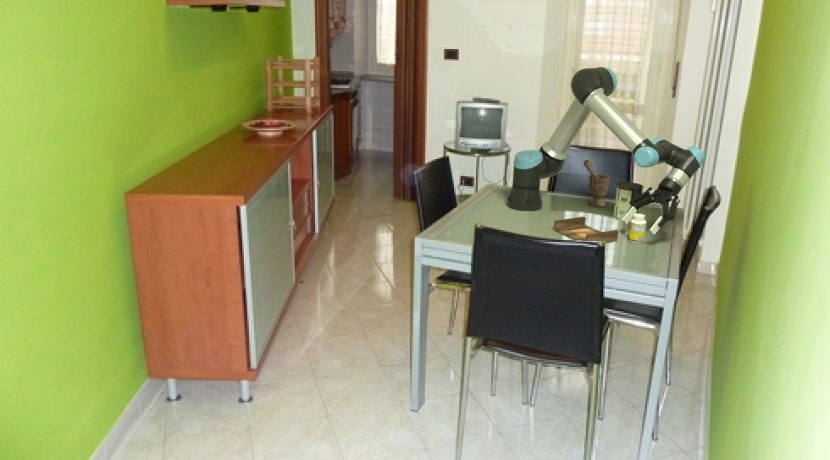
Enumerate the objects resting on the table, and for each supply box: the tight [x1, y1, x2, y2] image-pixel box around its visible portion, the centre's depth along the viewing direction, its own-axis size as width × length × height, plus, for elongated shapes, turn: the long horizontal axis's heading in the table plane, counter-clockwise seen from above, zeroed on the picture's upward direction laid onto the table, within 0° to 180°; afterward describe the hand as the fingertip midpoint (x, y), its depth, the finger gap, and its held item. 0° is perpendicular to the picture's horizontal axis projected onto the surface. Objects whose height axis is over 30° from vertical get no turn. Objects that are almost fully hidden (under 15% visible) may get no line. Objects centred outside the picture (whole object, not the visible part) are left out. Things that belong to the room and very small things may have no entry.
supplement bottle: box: [627, 213, 647, 244], centre depth 244 cm, size 6×6×10 cm
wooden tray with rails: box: [553, 216, 619, 244], centre depth 249 cm, size 20×14×4 cm
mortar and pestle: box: [583, 159, 611, 208], centre depth 287 cm, size 12×9×20 cm
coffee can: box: [612, 181, 644, 223], centre depth 271 cm, size 10×10×14 cm
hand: (637, 227), depth 243 cm, fingers open, 13 cm apart
